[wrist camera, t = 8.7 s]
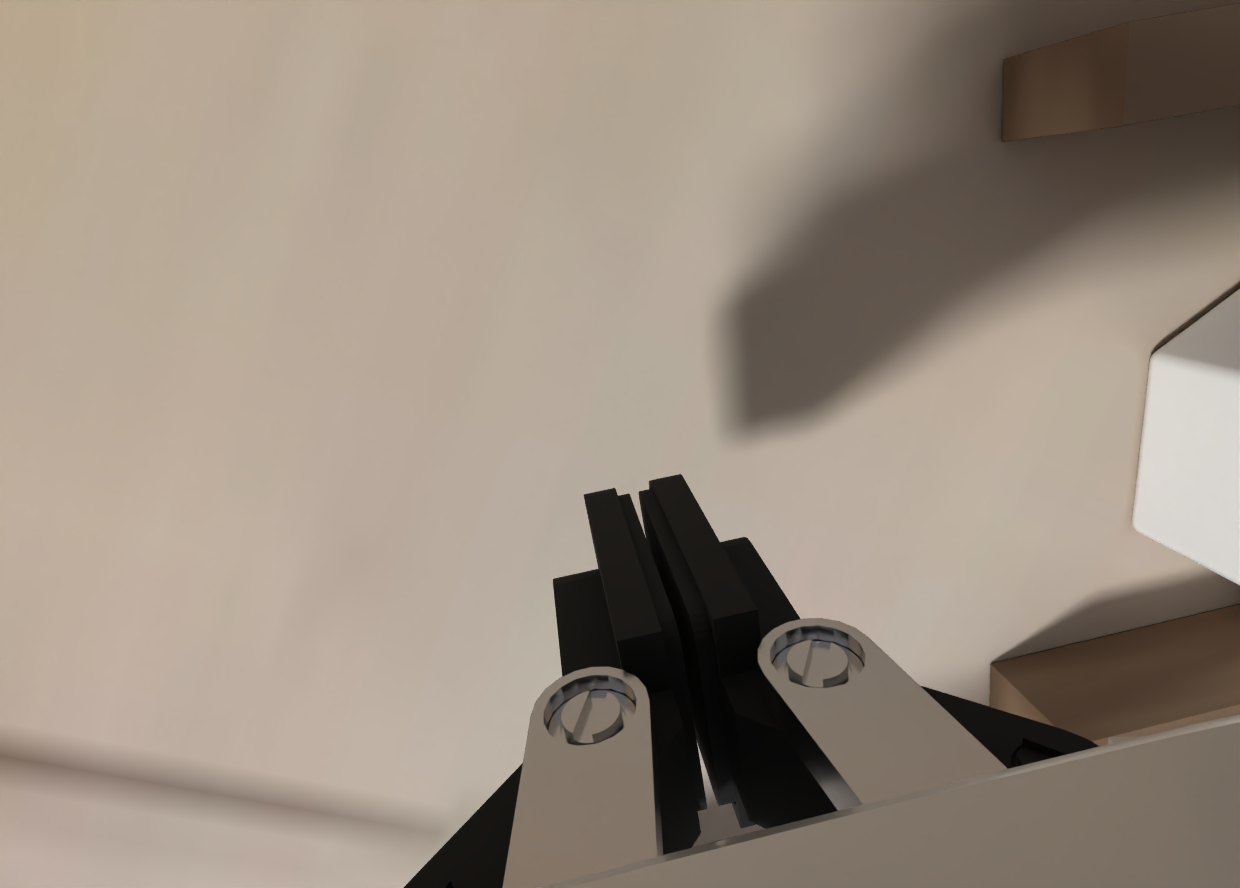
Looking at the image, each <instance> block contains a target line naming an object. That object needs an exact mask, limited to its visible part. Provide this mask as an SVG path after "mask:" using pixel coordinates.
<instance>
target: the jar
mask: <svg viewBox="0 0 1240 888" xmlns="http://www.w3.org/2000/svg"><path fill="white" fill-rule="evenodd" d="M1132 525H1133V527H1134V529H1135V530H1136V531H1138V532H1139V533H1141V534H1143V535H1145V536H1147V537H1149V538H1150V539H1152V540H1154V541H1156V542H1158V543H1160V544H1162V545H1164V546H1166V547H1167V548H1169V549H1171V550H1173V551H1175V552H1177V553H1179V554H1181V555H1183V556H1185V557H1186V558H1188V559H1190V560H1192V561H1194V562H1196V563H1198V564H1200V565H1202V566H1204V567H1205V568H1207V569H1209V570H1211V571H1213V572H1215V573H1217V574H1219V575H1221V576H1222V577H1224V578H1226V579H1228V580H1230V581H1232V582H1234V583H1236V584H1238V585H1240V288H1239V289H1238V290H1237V291H1235V292H1234V293H1233V294H1231V295H1230V296H1229V297H1227V298H1226V299H1225V300H1223V301H1222V302H1221V303H1219V304H1218V305H1217V306H1215V307H1214V308H1213V309H1211V310H1210V311H1209V312H1207V313H1206V314H1205V315H1204V316H1202V317H1201V318H1200V319H1198V320H1197V321H1196V322H1194V323H1193V324H1192V325H1190V326H1189V327H1188V328H1186V329H1185V330H1184V331H1182V332H1181V333H1180V334H1178V335H1177V336H1176V337H1174V338H1173V339H1172V340H1170V341H1169V342H1168V343H1166V344H1165V345H1164V346H1162V347H1161V348H1160V349H1158V350H1157V351H1156V352H1154V353H1153V355H1152V356H1151V358H1150V362H1149V371H1148V379H1147V388H1146V397H1145V406H1144V415H1143V424H1142V433H1141V442H1140V451H1139V460H1138V469H1137V477H1136V486H1135V495H1134V504H1133V513H1132Z"/></svg>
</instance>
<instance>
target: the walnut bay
mask: <svg viewBox="0 0 1240 888" xmlns="http://www.w3.org/2000/svg"><path fill="white" fill-rule="evenodd" d="M1235 105H1240V3H1237V4H1232V5H1226V6H1220V7H1214V8H1208V9H1202V10H1196V11H1190V12H1184V13H1178V14H1172V15H1167V16H1161V17H1155V18H1149V19H1143V20H1137V21H1131V22H1127V23H1124V24H1121V25H1117V26H1114V27H1111V28H1107V29H1104V30H1101V31H1097V32H1094V33H1091V34H1087V35H1084V36H1081V37H1077V38H1074V39H1071V40H1067V41H1064V42H1061V43H1057V44H1054V45H1051V46H1047V47H1044V48H1041V49H1037V50H1034V51H1030V52H1027V53H1024V54H1020V55H1017V56H1014V57H1010V58H1007V59H1004V76H1003V122H1002V142H1003V141H1011V140H1019V139H1026V138H1034V137H1042V136H1049V135H1057V134H1065V133H1072V132H1080V131H1088V130H1095V129H1103V128H1111V127H1118V126H1125V125H1130V124H1136V123H1141V122H1147V121H1152V120H1158V119H1163V118H1169V117H1174V116H1180V115H1186V114H1191V113H1197V112H1202V111H1208V110H1213V109H1219V108H1224V107H1230V106H1235ZM990 707H992V708H995V709H998V710H1002V711H1005V712H1008V713H1012V714H1015V715H1018V716H1021V717H1025V718H1028V719H1031V720H1035V721H1038V722H1041V723H1044V724H1048V725H1051V726H1054V727H1058V728H1061V729H1064V730H1067V731H1069V732H1072V733H1074V734H1077V735H1079V736H1082V737H1084V738H1087V739H1089V740H1090V741H1092V742H1094V743H1095V744H1097V745H1098V746H1104V745H1108V741H1109V737H1130V736H1147V735H1151V734H1156V733H1160V732H1164V731H1168V730H1172V729H1176V728H1180V727H1185V726H1189V725H1193V724H1197V723H1201V722H1206V721H1211V720H1216V719H1221V718H1226V717H1231V716H1236V715H1240V604H1239V605H1235V606H1231V607H1226V608H1222V609H1218V610H1214V611H1210V612H1206V613H1201V614H1197V615H1193V616H1189V617H1185V618H1180V619H1176V620H1172V621H1168V622H1164V623H1160V624H1155V625H1151V626H1147V627H1143V628H1139V629H1134V630H1130V631H1126V632H1122V633H1118V634H1114V635H1109V636H1105V637H1101V638H1097V639H1093V640H1088V641H1084V642H1080V643H1076V644H1072V645H1068V646H1063V647H1059V648H1055V649H1051V650H1047V651H1042V652H1038V653H1034V654H1030V655H1026V656H1022V657H1017V658H1013V659H1009V660H1005V661H1001V662H997V663H992V664H991V668H990Z"/></svg>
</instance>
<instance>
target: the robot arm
mask: <svg viewBox="0 0 1240 888" xmlns="http://www.w3.org/2000/svg"><path fill="white" fill-rule="evenodd" d="M584 499H585V504H586V509H587V514H588V519H589V524H590V529H591V534H592V539H593V544H594V549H595V553H596V558H597V563H598V568H599V569H596V570H591V571H587V572H582V573H578V574H573V575H569V576H564V577H559V578H555V579H553V587H554V597H555V607H556V617H557V627H558V637H559V646H560V656H561V666H562V676H563V677H561V678H559V679H558V680H556V681H555V682H554V683H553V684H551V685H550V686H549V687H547V688H546V689H545V690H544V692H543V693H542V694H541V695H540V697H539V698H538V699H537V701H536V702H535V705H534V708H533V711H532V713H531V717H530V723H529V729H528V735H527V741H526V748H525V754H524V760H523V763H522V764H521V765H520V767H519V768H518V769H517V770H516V771H515V772H514V773H513V774H512V775H511V776H510V777H509V778H508V779H507V780H506V781H505V782H504V783H503V784H502V785H501V786H500V787H499V788H498V790H497V791H496V792H495V793H494V794H493V795H492V796H491V797H490V798H489V799H488V800H487V801H486V802H485V803H484V804H483V805H482V806H481V807H480V808H479V809H478V810H477V811H476V813H475V814H474V815H473V816H472V817H471V818H470V819H469V820H468V821H467V822H466V823H465V824H464V825H463V826H462V827H461V828H460V829H459V830H458V831H457V832H456V833H455V834H454V835H453V837H452V838H451V839H450V840H449V841H448V842H447V843H446V844H445V845H444V846H443V847H442V848H441V849H440V850H439V851H438V852H437V853H436V854H435V855H434V856H433V857H432V858H431V860H430V861H429V862H428V863H427V864H426V865H425V866H424V867H423V868H422V869H421V870H420V871H419V872H418V873H417V874H416V875H415V876H414V877H413V878H412V879H411V880H410V881H409V883H408V884H407V885H406V886H405V887H404V888H1240V715H1236V716H1231V717H1226V718H1221V719H1216V720H1211V721H1206V722H1201V723H1197V724H1193V725H1189V726H1185V727H1180V728H1176V729H1172V730H1168V731H1164V732H1160V733H1156V734H1151V735H1147V736H1130V737H1109V741H1108V745H1104V746H1098V745H1097V744H1095V743H1094V742H1092V741H1090V740H1089V739H1087V738H1084V737H1082V736H1079V735H1077V734H1074V733H1072V732H1069V731H1067V730H1064V729H1061V728H1058V727H1054V726H1051V725H1048V724H1044V723H1041V722H1038V721H1035V720H1031V719H1028V718H1025V717H1021V716H1018V715H1015V714H1012V713H1008V712H1005V711H1002V710H998V709H995V708H992V707H988V706H985V705H982V704H979V703H975V702H972V701H969V700H965V699H962V698H959V697H956V696H952V695H949V694H946V693H942V692H939V691H936V690H933V689H929V688H926V687H923V686H920V685H919V684H918V683H916V682H915V681H914V680H913V679H912V678H911V677H910V676H909V675H908V674H907V673H906V672H905V671H904V670H903V669H902V668H901V667H900V666H898V665H897V664H896V663H895V662H894V661H893V660H892V659H891V658H890V657H889V656H888V655H887V654H886V653H885V652H884V651H883V650H881V649H880V648H879V647H878V646H877V645H876V644H875V643H874V642H873V641H872V640H871V639H870V638H869V637H868V636H866V635H865V634H863V633H862V632H861V631H859V630H858V629H856V628H855V627H852V626H850V625H847V624H845V623H842V622H840V621H835V620H829V619H823V618H808V619H800V617H799V616H798V614H797V613H796V611H795V610H794V608H793V607H792V605H791V604H790V602H789V600H788V599H787V597H786V596H785V594H784V593H783V591H782V590H781V588H780V587H779V585H778V583H777V582H776V580H775V579H774V577H773V576H772V574H771V573H770V571H769V570H768V568H767V567H766V565H765V563H764V562H763V560H762V559H761V557H760V556H759V554H758V553H757V551H756V550H755V548H754V546H753V545H752V543H751V542H750V541H749V540H748V538H746V537H742V538H738V539H733V540H728V541H724V542H719V540H718V538H717V536H716V534H715V533H714V531H713V529H712V527H711V526H710V524H709V522H708V520H707V519H706V517H705V515H704V513H703V511H702V510H701V508H700V506H699V504H698V503H697V501H696V499H695V497H694V496H693V494H692V492H691V490H690V488H689V487H688V485H687V483H686V481H685V480H684V478H683V476H682V475H681V474H679V475H674V476H670V477H665V478H660V479H655V480H651V481H649V490H644V491H639V499H640V505H641V511H642V517H643V523H644V529H645V535H646V538H645V535H644V532H643V529H642V527H641V524H640V521H639V518H638V516H637V513H636V510H635V508H634V505H633V502H632V499H631V497H630V494H625V495H620V496H618V495H617V492H616V489H615V488H613V489H608V490H603V491H598V492H594V493H589V494H584ZM696 739H697V740H696ZM697 743H698V746H699V749H700V752H701V755H702V758H703V761H704V764H705V767H706V770H707V773H708V776H709V779H710V782H711V785H712V788H713V792H714V795H715V798H716V800H717V803H718V805H719V806H720V805H724V804H728V803H732V804H733V807H734V810H735V813H736V816H737V819H738V821H739V824H740V827H741V828H744V827H748V826H752V825H756V824H757V825H759V826H761V827H763V828H765V829H764V830H760V831H756V832H752V833H749V834H745V835H741V836H737V837H733V838H729V839H725V840H721V841H717V842H713V843H709V844H705V845H701V846H697V847H693V848H691V847H692V846H693V844H694V843H695V841H696V839H697V838H698V836H699V835H700V833H701V830H700V824H699V818H698V812H697V811H700V810H704V809H707V804H706V797H705V791H704V784H703V778H702V772H701V765H700V759H699V752H698V746H697Z"/></svg>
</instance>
